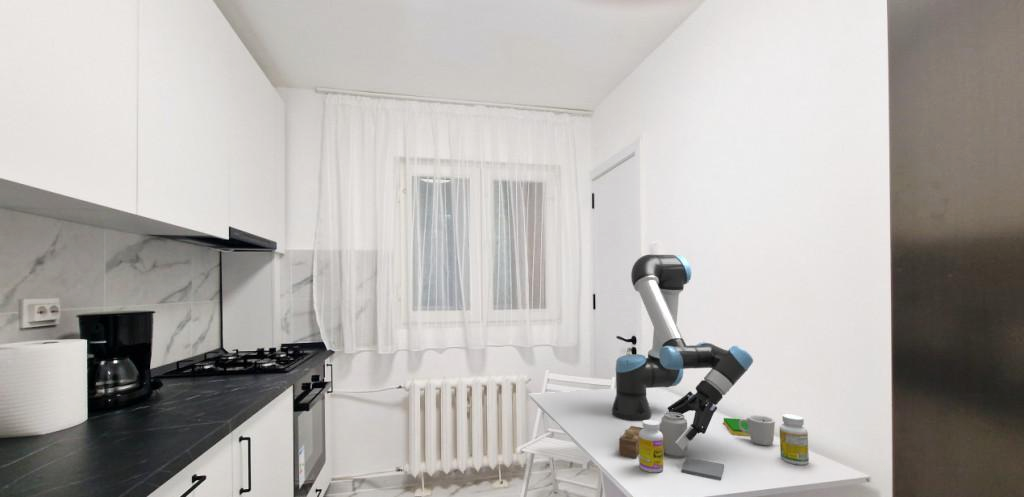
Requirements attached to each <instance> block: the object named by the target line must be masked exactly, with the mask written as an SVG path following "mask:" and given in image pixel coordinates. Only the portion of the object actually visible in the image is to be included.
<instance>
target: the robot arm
mask: <svg viewBox="0 0 1024 497" xmlns="http://www.w3.org/2000/svg"><path fill="white" fill-rule="evenodd" d="M691 268H692V267H691V264H690V262H689V261H688V260H687V259H686V258H685V256H682V255H675V254H645V255H642V256H641V257H639V258H638V259H636V261H635V262H634V264H633V265H632V268H631V274H630V275H631V276H630V277H631V279H630V280H631V283H632V286H633V289H634V290H635V291H636V292H637V293H639V296H640V298H641V301H642V302H643V305H644V308H645V310H646V312H647V315H648V316H649V317H648V318H650V321H651V324H652V326H653V336H652V348H651V349H649V350H648V352H647V357H646V355H644V354H638V353H637V354H636V353H635V354H633V353H632V354H626V355H622V356H619V357H617V359H616V360H615V361H616V362H615V384H616V385H615V398H614V402H613V404H612V408H611V414H612V417H613V416H614V417H615V418H617V419H621V420H624V421H625V420H626V421H633V422H634V421H635V422H636V421H637V422H643V421H644V420H651V419H652V409H651V407H650V403H649V400H648V397H647V389H651V388H670V387H675V386H677V385H679V384H680V383H681V382H682V379H683V377H684V370H688V369H710V370H709V372H708V373H707V374H706V375H705V376H704V377H703V380H700V382H699V383H698V384H697V385H696V386H695V390H696V393H693V392H692V391H688V392H687V393H686V394H685V395H684V396H683V397H681V398H680V399H678V400H677V401H675V402H673V403H672V404H670V405H669V406H668V407H667V411H668V412H676V413H681V414H683V415H684V414H685V413H688V412H690V411H691V412H693V411H694V415H693V417H694V418H693V420H692V421H693V422H692V423H691V424H690V425H689V426H687V429H686V431H685V432H684V433H683V434H682V435H681V436H680V437H679V439H678V440H677V441H676V442H675V443H676V444H677V445H678V446H679V447H680V448H681V449H682V450H683V449H684V448H685V447H686V445H687V446H688V445H689V443H690V442H691V441H692V440H693V439H694V438H695V437H696V436H697V434H698V435H699V434H700V433H701V434H703V435H704V434H706V432H707V430H708V427H709V425H710V423H711V421H712V418H713V416H714V414H715V412H716V411H717V409H718V407H717V406H716V405H718V404H719V402H720V401H721V400H722V399H723V396H726V395H727V393H728V392H730V389H731V388H732V387H734V386H735V384H736V383H737V382H738V381H739V380H740V379H741V377H742V376H743V375H745V373H746V372H747V371H749V370H748V369H750V367H751V366H752V365H753V363H754V358H753V356H751V354H750V353H749V352H748V351H746V350H745V349H744V348H742V347H741V346H739V345H732V346H731V347H730V348H729V349H724V348H721V347H719V346H717V345H714V344H712V343H710V342H705V341H702V342H698V343H697V344H695V345H687V344H686V342H685V340H684V337H683V336H682V332H680V328H679V327H678V325H677V323H678V322H677V321H678V308H679V297H680V293H682V292H683V291H684V287H685V285H686V284H687V285H688V283H690V281H691V278H692V269H691ZM659 431H660V432H661V433H662V420H661V421H660V422H659Z"/></svg>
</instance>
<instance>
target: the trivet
mask: <svg viewBox="0 0 1024 497" xmlns="http://www.w3.org/2000/svg"><path fill="white" fill-rule="evenodd" d="M724 467H725V464H724V463H720V462H716V461H710V460H704V459H700V458H693V457H688V456H687V457H686V458H685V461H684V462H683V465H682V468H681V473H684V474H688V475H689V474H690V475H694V476H698V477H704V478H708V479H714V480H719V481H722V478H723V473H724V469H725V468H724Z"/></svg>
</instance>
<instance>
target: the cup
mask: <svg viewBox="0 0 1024 497" xmlns="http://www.w3.org/2000/svg"><path fill="white" fill-rule="evenodd" d="M740 419H741V420H740V421H739V427H740V430H741V431H742V432H744V433H747V434H749V435H750V436H749V438H750V440H751V442H753V443H754V444H757V445H758V446H771V445H773V443H774V438H775V436H774V435H775V425H776V421H775V419H774V418H772V417H769V416H765V415H760V414H757V415H756V414H751V415H748V416H747V417H746V418H745V417H744V418H740ZM742 422H746V423H747V425H748V429H747V430H744V429H743V427H742Z"/></svg>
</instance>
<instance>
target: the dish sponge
mask: <svg viewBox="0 0 1024 497" xmlns="http://www.w3.org/2000/svg"><path fill="white" fill-rule="evenodd" d="M741 419H742V418H730V417H729V418H728V417H723V424H724V426H725V425H726V426H725V427H726V428H727V429H728V431H729V432H730V433H731V434H732V436H738V437H739V436H740V437H750V435H749V434H747V433H744V432H742V431H741V430H740V427H739V421H740V420H741ZM742 427H743V429H744V430H747V429H748V425H747V423H746V422H742Z"/></svg>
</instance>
